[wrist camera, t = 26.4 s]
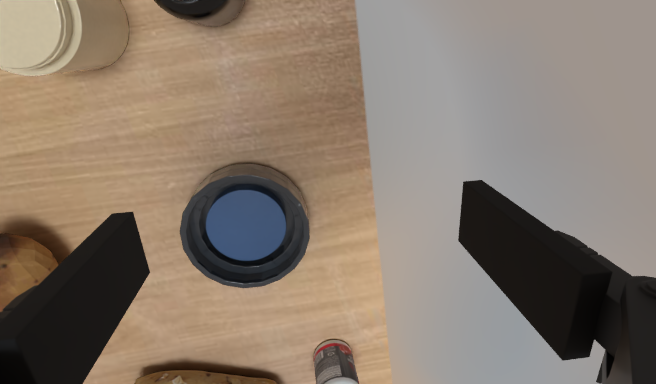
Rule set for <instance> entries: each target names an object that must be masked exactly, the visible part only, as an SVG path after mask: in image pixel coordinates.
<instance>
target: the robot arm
mask: <svg viewBox="0 0 656 384" xmlns="http://www.w3.org/2000/svg"><path fill="white" fill-rule="evenodd" d="M458 240H459V242H460V243H461V244H462V245H463V247H464V248H465V249H466V250H467V251H468V252H469V253H470V255H471V256H472V257H473V258H474V259H475V260H476V261H477V263H478V264H479V265H480V266H481V267H482V268H483V270H484V271H485V272H486V273H487V274H488V275H489V276H490V278H491V279H492V280H493V281H494V282H495V283H496V284H497V286H498V287H499V288H500V289H501V290H502V291H503V293H504V294H506V296H507V297H508V298H509V299H510V301H511V302H512V303H513V304H514V305H515V306H516V307H517V309H518V310H519V311H520V312H521V313H522V314H523V316H524V317H525V318H526V319H527V320H528V321H529V322H530V324H531V325H532V326H533V327H534V328H535V329H536V330H537V332H538V333H539V334H540V335H541V336H542V337H543V338H544V340H545V341H546V342H547V343H548V344H549V345H550V347H552V349H553V350H554V351H555V352H556V353H557V355H559V357H560V358H561V359H562V360H570V359H577V358H585V357H589V356H590V352H591V349H592V345H593V341H594V339H595V340H596V341H597V342H598V343H599V344H600V345H601V346H602V347H603V348H604V349H605V354H604V357H603V361H602V364H601V367H600V371H599V374H598V378H597V381H596V382H598V383H602V384H656V278H654V277H647V276H631V275H630V274H628V273H627V272H625V271H624V270H622V269H621V268H619V267H618V266H616V265H615V264H613V263H612V262H610V261H609V260H608V259H606V258H604V257H603V256H601V255H598V253H597V252H596V251H594V250H593V249H591V248H588V247H587V245H585V244H584V243H582V242H581V241H579V240H578V239H576V238H575V237H572V236H570V235H567V234H565V233H563V232H560V231H554V230H552V229H551V228H549V227H548V226H546V225H545V224H544V223H542V222H541V221H539V220H538V219H536V218H535V217H534V216H532V215H530V214H529V213H528V212H526V211H525V210H524V209H522V208H521V207H519V206H518V205H516V204H515V203H513V202H512V201H510V200H509V199H508V198H506V197H505V196H503V195H502V194H501V193H499V192H498V191H496V190H495V189H493V188H492V187H490V186H489V185H488V184H486V183H485V182H483V181H482V180H478V181H466V182H463V193H462V205H461V217H460V227H459V239H458ZM149 273H150V271H149V267H148V264H147V260H146V257H145V253H144V250H143V246H142V242H141V239H140V235H139V232H138V228H137V225H136V221H135V218H134V214H133V212H125V213H114V214H111V215H110V216H109V217H108V218H107V219H106V220H105V221H104V222H103V223H102V224H101V225H100V226H99V227H98V228H97V229H96V230H95V231H94V232H93V233H92V234H91V235H90V236H88V237H87V238H86V239H85V240H84V241H83V242H82V243H81V244H80V245H79V246H78V247H77V248H76V249H75V250H74V251H73V252H72V253H71V254H70V255H69V256H68V257H67V258H66V259H65V260H64V261H63V262H61V263H60V264H59V265H58V266H57V267H56V268H55V269H54V270H53V271H52V272H51V273H50V274H49V275H48V276H47V277H46V278H45V279H44V280H43V281H42V282H41V283H40V284H39V285H35V286H33V287H31V288H30V289H28V290H27V291H25V292H23V293H22V294H20V295H18V296H17V297H15V298H14V299H13V300H12V301H11V302H10V303H9V304H8V305H7V306H6V307H5V308H4V309H3V311H2V312H0V384H83V382H84V380H85V379H86V377H87V375H88V374H89V372H90V370H91V369H92V367H93V366H94V364H95V362H96V361H97V359H98V357H99V356H100V354H101V352H102V351H103V349H104V347H105V346H106V344H107V342H108V341H109V339H110V337H111V336H112V334H113V333H114V331H115V329H116V328H117V326H118V324H119V323H120V321H121V319H122V318H123V316H124V314H125V313H126V311H127V309H128V308H129V306H130V304H131V303H132V301H133V300H134V298H135V296H136V295H137V293H138V291H139V290H140V288H141V286H142V285H143V283H144V281H145V280H146V278H147V276H148V275H149Z"/></svg>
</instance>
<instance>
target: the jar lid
mask: <svg viewBox="0 0 656 384" xmlns="http://www.w3.org/2000/svg"><path fill="white" fill-rule="evenodd" d="M206 231H207V235H208V237H209V239H210V241H211V243H212V244H213V246H214V247H215V248H216V249H217V250H218V251H220V252H221V253H222V254H224V255H226V256H228V257H230V258H233V259H236V260H242V261H252V260H257V259H261V258H264V257H266V256H268V255H269V254H271V253H272V252H274V251H275V250H276V249H277V248H278V247H279V246H280V244H281V243H282V241H283V239H284V236H285V233H286V213H285V209H284V207H283V205H282V203H281V201H280V200H279V199H278V197H277V196H276V195H275V194H273V193H272V192H271V191H269V190H268V189H266V188H264V187H261V186H258V185H253V184H240V185H235V186H232V187H230V188H228V189H226V190H224V191H223V192H221V193H220V194H219V195H218V196H217V197H216V198H215V200H214V201H213V203H212V205H211V207H210V210H209V212H208V214H207V218H206Z"/></svg>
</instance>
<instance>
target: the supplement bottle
mask: <svg viewBox="0 0 656 384" xmlns="http://www.w3.org/2000/svg"><path fill="white" fill-rule="evenodd" d="M154 1H155V2H156V3H157V4H158V5H159V6H160V7H161V8H162V9H164V10H165V11H166V12H168V13H169V14H171V15H173V16H175V17H177V18H180V19H183V20H187V21H190V22H193V23H197V24H200V25H204V26H210V27H215V26H221V25H224V24H227V23H229V22H230V21H232V20H233V19H234V18H235V17H236V16H237V15H238V14H239V13H240V11H241V10H242V8H243V5H244V2H245V0H154Z"/></svg>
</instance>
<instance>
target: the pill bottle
mask: <svg viewBox="0 0 656 384" xmlns="http://www.w3.org/2000/svg"><path fill="white" fill-rule="evenodd" d="M314 367H315V376H316V384H359V381H358V377H357V373H356V369H355V365H354V360H353V356H352V352H351V349H350V347H349V346H348V345H347V344H346V343H344V342H342V341H340V340H329V341H326V342H324V343H322V344H321V345H319V346H318V348H317V349H316V350H315V353H314Z"/></svg>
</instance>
